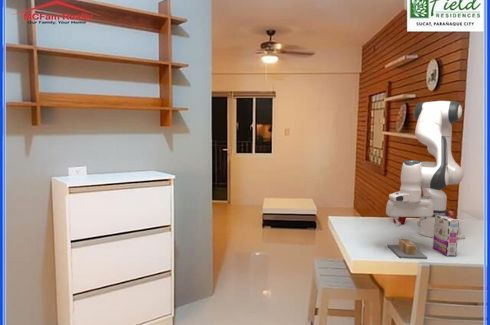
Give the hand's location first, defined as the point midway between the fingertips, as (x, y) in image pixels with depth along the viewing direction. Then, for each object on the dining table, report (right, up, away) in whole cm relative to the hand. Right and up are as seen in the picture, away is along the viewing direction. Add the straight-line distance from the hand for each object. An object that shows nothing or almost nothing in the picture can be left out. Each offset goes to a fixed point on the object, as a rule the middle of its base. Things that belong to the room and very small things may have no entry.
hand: (408, 226), depth 173 cm
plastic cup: (+17, -8, +54) cm, 57 cm away
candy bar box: (+17, -13, +2) cm, 22 cm away
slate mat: (-1, -12, +1) cm, 12 cm away
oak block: (-1, -10, -5) cm, 11 cm away
